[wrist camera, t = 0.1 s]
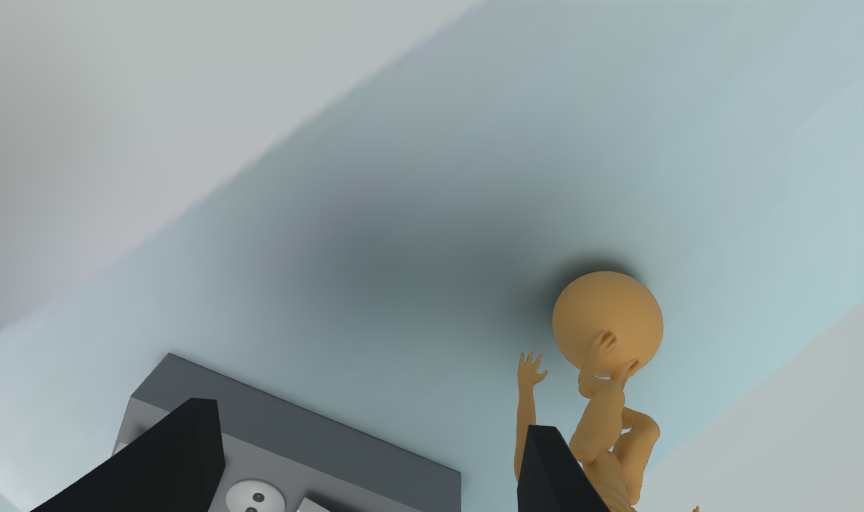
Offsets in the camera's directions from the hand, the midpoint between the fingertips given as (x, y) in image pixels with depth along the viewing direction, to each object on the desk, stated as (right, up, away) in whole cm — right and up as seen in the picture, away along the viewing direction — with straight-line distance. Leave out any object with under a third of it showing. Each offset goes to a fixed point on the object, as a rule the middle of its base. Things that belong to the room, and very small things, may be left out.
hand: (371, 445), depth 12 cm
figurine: (+7, +2, +10) cm, 13 cm away
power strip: (-5, -6, +14) cm, 16 cm away
